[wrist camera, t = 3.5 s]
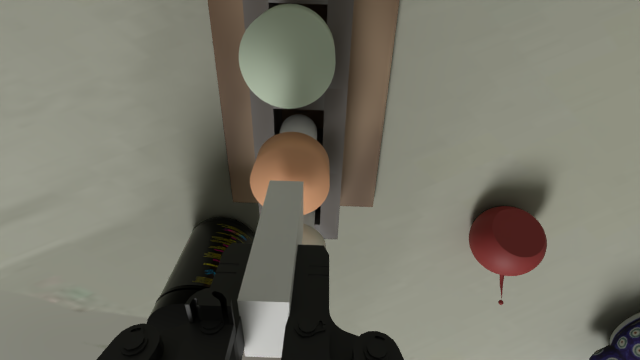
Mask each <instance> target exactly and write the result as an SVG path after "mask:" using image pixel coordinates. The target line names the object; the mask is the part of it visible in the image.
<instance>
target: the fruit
mask: <svg viewBox="0 0 640 360" xmlns="http://www.w3.org/2000/svg"><path fill="white" fill-rule="evenodd" d="M469 244H470V248H471V251H472V253H473V255H474V257H475V258H476V259H477V261H478V262H479V263H480V264H481V265H482V266H484V267H485V268H486V269H488V270H490V271H492V272H494V273H496V274H500V288H501V299H502V288H503V279H504V275H505V276H517V275H522V274H525V273H527V272H529V271H531V270H533V269H534V268H535V267H537V266H538V265H539V263H540V262H541V261H542V259H543V257H544V255H545V252H546V248H547V240H546V235H545V232H544V230H543V228H542V226H541V224H540V223H539V222H538V221H537V220H536V218H534V217H533V216H532V215H531V214H529V213H528V212H526V211H524V210H522V209H519V208H516V207H510V206H499V207H494V208H491V209H489V210H486V211H485V212H483V213H482V214H480V215H479V216H478V217H477V218H476V219H475V221H474V222H473V224H472V226H471V229H470V233H469ZM498 303H499V304H500V305H502V304H503V301H502V300H499V301H498Z"/></svg>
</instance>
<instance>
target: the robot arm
mask: <svg viewBox="0 0 640 360" xmlns="http://www.w3.org/2000/svg"><path fill="white" fill-rule="evenodd" d="M302 238H303V182H302V181H273V180H270V182H269V185H268V189H267V193H266V196H265V200H264V204H263V208H262V211H261V215H260V219H259V222H258V226H257V230H256V233H255V237H254V241H253V244H248V243H231V244H230V245H229V246H228V247H227V248H226V250H225V251H224V252H223V253H222V256H221V259H220V262H219V265H218V267H217V270H216V274H215V275H214V278H213V281H212V284H211V286H210V288H205V289H203V290H200V291H198V292H196V293H195V294H193V295H192V296H191V297H190V298H189V299H188V301H187V302H186V304H185V307H186V311H187V315H188V319H189V322H188V323H186V324H184V325H181V326H178V327H175V328H171V329H167V330H163V331H158V330H157V328H156V327H154V326H152V325H151V324H138V325H134V326H131V327H129V328H127V329H125V330H124V331H122V332H121V333H120V334H119V335H118V336H117V337H116V338H115V339H114V340H113V341H112V342H111V343H110V344H109V346H108V347H107V348H106V349H105V350H104V352H103V353H102V354H101V355H100V356H99V357H98V359H97V360H242V355H243V351H244V352H245V356H249V357H276V358H281V360H404V359H403V357H402V354H401V352H400V350H399V348H398V346H397V345H396V343H395V342H394V340H393V339H391V338H390V337H389V336H388V335H386V334H384V333H381V332H378V331H368V332H366V333H363V334H361V335H360V336H356V335H353V334H351V333H348V332H346V331H344V330H341V329H340V328H339V327H338V326H336V325H335V323H334V322H333V321H332V319H331V317H330V313H329V254H328V252H327V250H326V249H325V247H324V245H302Z"/></svg>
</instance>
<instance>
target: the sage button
mask: <svg viewBox="0 0 640 360" xmlns="http://www.w3.org/2000/svg"><path fill="white" fill-rule="evenodd" d="M335 64H336V61H335V46H334V40H333V36H332V34H331V31H330V29H329V27H328V26H327V24H326V23H325V21H324V20H323V19H322V18H321V17H320V16H319V15H318V14H317V13H316V12H314V11H313V10H311V9H309V8H307V7H305V6H302V5H298V4H281V5H277V6H274V7H272V8H270V9H268V10H267V11H265V12H264V13H263V14H261V15H260V16H259V17H258V18H257V19H255V20H254V21H253V22H252V23H251V24H250V25H249V27H248V28H247V29H246V31H245V33H244V35H243V37H242V40H241V43H240V47H239V65H240V70H241V73H242V76H243V78H244V80H245V82H246V84H247V85H248V87H249V88H250V89H251V91H252V92H253V93H254V94H255V95H256V96H258V97H259V98H260V99H261V100H263V101H264V102H266V103H268V104H270V105H273V106H276V107H280V108H287V109H292V108H300V107H303V106H306V105H309V104H311V103H312V102H314V101H316V100H317V99H318V98H320V97H321V96H322V95H323V94H324V93H325V91H326V90H327V88H328V87H329V85H330V83H331V81H332V79H333V76H334V72H335Z"/></svg>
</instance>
